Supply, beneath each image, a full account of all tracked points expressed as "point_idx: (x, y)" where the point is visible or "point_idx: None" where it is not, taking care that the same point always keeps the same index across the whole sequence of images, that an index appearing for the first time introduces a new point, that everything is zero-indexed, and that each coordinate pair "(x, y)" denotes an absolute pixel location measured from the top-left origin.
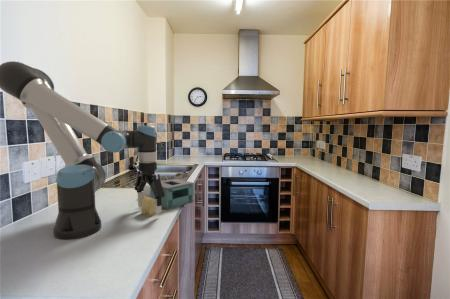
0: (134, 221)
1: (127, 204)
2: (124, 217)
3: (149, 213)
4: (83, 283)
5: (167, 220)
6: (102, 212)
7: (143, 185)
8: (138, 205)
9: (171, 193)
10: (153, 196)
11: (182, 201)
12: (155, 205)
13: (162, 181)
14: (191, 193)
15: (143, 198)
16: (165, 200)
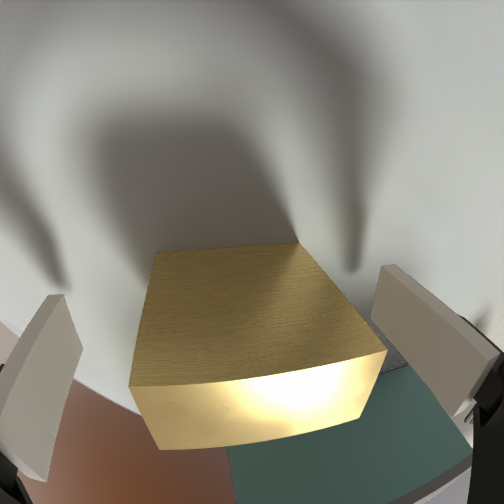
0: (128, 78)
1: (493, 250)
2: (315, 61)
3: (153, 271)
4: None
5: (7, 312)
6: (491, 63)
7: (485, 502)
8: (397, 271)
9: None
10: (405, 413)
11: (232, 480)
12: (14, 356)
13: (425, 501)
14: None
15: (329, 366)
16: (251, 458)
